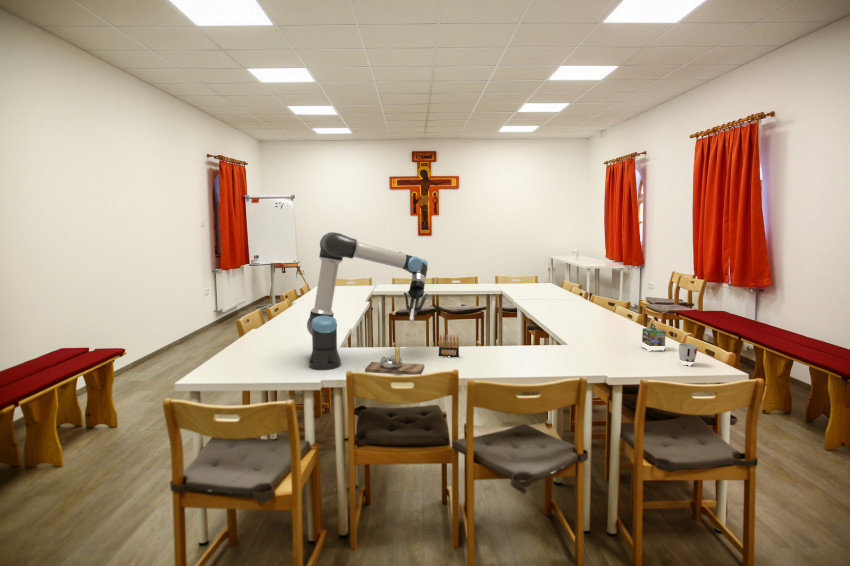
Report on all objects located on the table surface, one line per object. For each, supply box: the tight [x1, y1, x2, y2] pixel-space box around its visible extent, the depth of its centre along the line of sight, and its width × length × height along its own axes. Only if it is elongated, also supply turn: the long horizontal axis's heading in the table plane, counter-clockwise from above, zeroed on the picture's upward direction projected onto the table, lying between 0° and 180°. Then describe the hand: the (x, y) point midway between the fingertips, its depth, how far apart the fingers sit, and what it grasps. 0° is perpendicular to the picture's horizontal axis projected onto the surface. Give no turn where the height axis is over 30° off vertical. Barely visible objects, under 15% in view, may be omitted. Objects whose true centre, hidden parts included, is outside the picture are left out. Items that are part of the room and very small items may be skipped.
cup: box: [678, 342, 698, 363], centre depth 237 cm, size 8×8×10 cm
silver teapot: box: [379, 346, 403, 369], centre depth 223 cm, size 14×10×11 cm
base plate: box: [364, 361, 425, 375], centre depth 225 cm, size 26×12×2 cm, turn 82°
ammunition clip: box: [437, 333, 460, 358], centre depth 248 cm, size 11×2×12 cm, turn 82°
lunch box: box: [641, 322, 667, 347], centre depth 266 cm, size 9×9×15 cm
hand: (411, 320), depth 237 cm, fingers closed
